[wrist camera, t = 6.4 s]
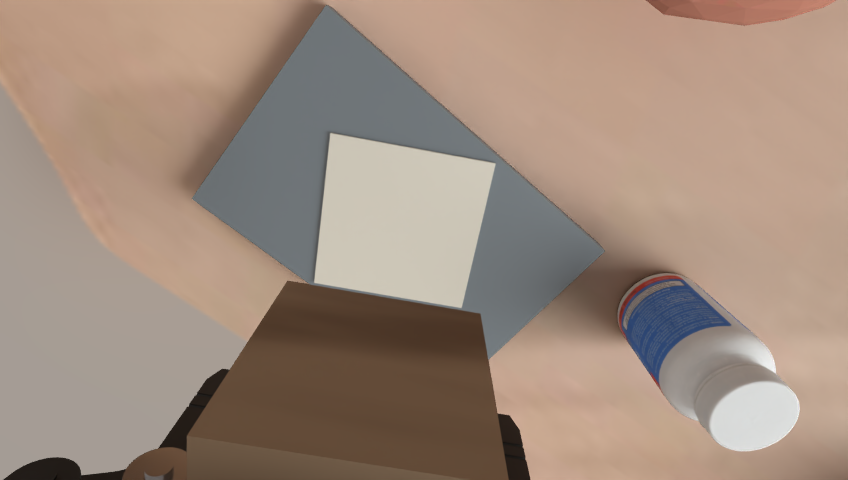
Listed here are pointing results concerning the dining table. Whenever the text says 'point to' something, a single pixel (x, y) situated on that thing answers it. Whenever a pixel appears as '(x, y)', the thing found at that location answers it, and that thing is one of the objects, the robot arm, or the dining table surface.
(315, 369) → the walnut block
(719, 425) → the pill bottle
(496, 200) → the slate board
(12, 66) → the dining table surface
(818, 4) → the decorative flower
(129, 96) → the dining table surface
